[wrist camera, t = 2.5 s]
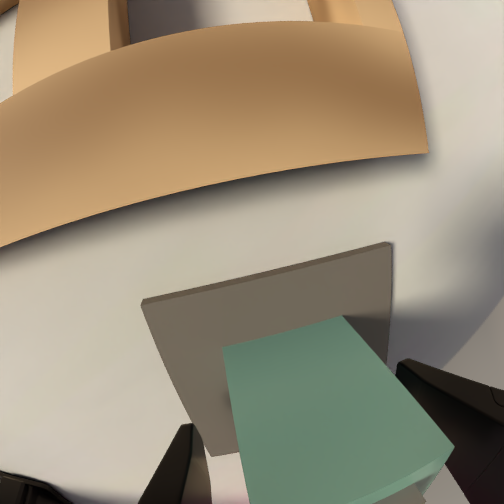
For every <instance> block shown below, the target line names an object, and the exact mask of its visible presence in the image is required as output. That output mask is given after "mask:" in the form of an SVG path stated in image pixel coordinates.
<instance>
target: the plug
mask: <svg viewBox="0 0 504 504" xmlns="http://www.w3.org/2000/svg"><path fill="white" fill-rule="evenodd" d="M222 349H223V356H224V363H225V370H226V376H227V382H228V389H229V395H230V401H231V407H232V413H233V419H234V424H235V430H236V436H237V441H238V446H239V452H240V457H241V462H242V467H243V472H244V477H245V482H246V487H247V492H248V497H249V501H250V504H425V502H426V500H425V499H424V498H423V494H424V493H425V491H426V490H427V489H428V487H429V486H430V485H431V483H432V482H433V480H434V479H435V477H436V476H437V474H438V473H439V471H440V470H441V468H442V467H443V465H444V464H445V462H446V461H447V459H448V457H449V456H450V454H451V452H452V451H453V449H454V447H455V446H454V445H453V444H452V443H451V442H450V440H449V439H448V438H447V437H446V435H445V434H444V433H443V432H442V431H441V429H440V428H439V427H438V426H437V425H436V423H435V422H434V421H433V420H432V419H431V417H430V416H429V415H428V414H427V413H426V412H425V410H424V409H423V408H422V407H421V406H420V404H419V403H418V402H417V401H416V400H415V399H414V397H413V396H412V395H411V394H410V393H409V392H408V390H407V389H406V388H405V387H404V386H403V385H402V383H401V382H400V381H399V380H398V379H397V378H396V376H395V375H394V374H393V373H392V372H391V371H390V370H389V368H388V367H387V366H386V365H385V364H384V363H383V361H382V360H381V359H380V358H379V357H378V356H377V355H376V353H375V352H374V351H373V350H372V349H371V348H370V347H369V346H368V344H367V343H366V342H365V341H364V340H363V339H362V338H361V336H360V335H359V334H358V333H357V332H356V331H355V330H354V329H353V327H352V326H351V325H350V324H349V323H348V322H347V321H346V320H345V319H344V317H343V316H342V315H341V316H338V317H334V318H331V319H328V320H325V321H321V322H318V323H314V324H311V325H308V326H304V327H301V328H297V329H293V330H290V331H286V332H282V333H279V334H275V335H271V336H267V337H263V338H259V339H255V340H251V341H247V342H243V343H238V344H234V345H230V346H225V347H222Z"/></svg>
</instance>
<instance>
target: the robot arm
mask: <svg viewBox="0 0 504 504" xmlns="http://www.w3.org/2000/svg"><path fill="white" fill-rule="evenodd" d="M395 376H396V378H397V379H398V380H399V381H400V382H401V383H402V385H403V386H404V387H405V388H406V389H407V390H408V392H409V393H410V394H411V395H412V396H413V397H414V399H415V400H416V401H417V402H418V403H419V404H420V406H421V407H422V408H423V409H424V410H425V412H426V413H427V414H428V415H429V416H430V417H431V419H432V420H433V421H434V422H435V423H436V425H437V426H438V427H439V428H440V429H441V431H442V432H443V433H444V434H445V435H446V437H447V438H448V439H449V440H450V442H451V443H452V444H453V445H454V446H455V447H454V449H453V451H452V452H451V454H450V456H449V457H448V459H447V461H446V462H445V465H446V466H447V468H448V469H449V471H450V473H451V474H452V476H453V477H454V479H455V480H456V482H457V484H458V485H459V486H460V488H461V490H462V491H463V493H464V495H465V497H466V498H467V500H468V501H469V503H470V504H504V390H501V389H497V388H494V387H489V386H488V385H485V384H481V383H478V382H475V381H472V380H469V379H466V378H463V377H460V376H457V375H454V374H452V373H449V372H445V371H443V370H440V369H437V368H434V367H431V366H429V365H426V364H423V363H420V362H418V361H415V360H412V359H405V360H402V361H400V362H399V363H398V364H397V369H396V375H395ZM0 504H71V503H70V502H68V501H67V500H66V499H65V498H63V497H62V496H61V495H60V494H58V493H57V492H56V491H55V490H53V489H52V488H51V487H50V486H48V485H46V484H44V483H40V482H36V481H31V480H27V479H23V478H19V477H15V476H12V475H8V474H5V473H2V472H0ZM138 504H212V498H211V484H210V477H209V471H208V466H207V461H206V455H205V450H204V444H203V440H202V437H201V435H200V433H199V432H198V430H197V428H196V426H195V425H194V424H193V423H189V424H183V425H181V426H180V428H179V429H178V431H177V433H176V435H175V437H174V439H173V441H172V442H171V444H170V446H169V448H168V450H167V451H166V453H165V455H164V457H163V459H162V461H161V462H160V464H159V466H158V468H157V470H156V471H155V473H154V475H153V477H152V479H151V480H150V482H149V484H148V486H147V487H146V489H145V491H144V493H143V495H142V496H141V498H140V500H139V502H138Z"/></svg>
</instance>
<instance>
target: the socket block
mask: <svg viewBox="0 0 504 504" xmlns="http://www.w3.org/2000/svg"><path fill="white" fill-rule="evenodd" d="M307 1H308V4H309V8H310V11H311V14H312V17H313V21H314V22H312V21H275V22H255V23H242V24H232V25H223V26H216V27H209V28H202V29H196V30H191V31H185V32H180V33H175V34H171V35H166V36H162V37H158V38H154V39H150V40H146V41H142V42H139V43H135V44H132V45H131V43H130V33H129V22H128V8H127V0H0V15H1V14H2V13H4V12H5V11H7V10H8V9H10V8H12V7H13V6H15V5H16V4H18V3H19V6H18V13H17V20H16V28H15V39H14V53H13V96H11V97H10V98H8V99H6V100H5V101H3V102H2V103H0V247H2V246H5V245H7V244H10V243H13V242H15V241H18V240H20V239H23V238H26V237H29V236H31V235H34V234H37V233H40V232H43V231H46V230H49V229H51V228H54V227H57V226H60V225H63V224H66V223H70V222H73V221H76V220H79V219H82V218H85V217H89V216H92V215H95V214H98V213H102V212H105V211H109V210H112V209H116V208H119V207H123V206H126V205H130V204H133V203H137V202H141V201H145V200H148V199H152V198H156V197H160V196H164V195H168V194H172V193H176V192H180V191H185V190H189V189H193V188H198V187H202V186H207V185H211V184H216V183H220V182H225V181H230V180H235V179H240V178H245V177H250V176H255V175H261V174H266V173H272V172H277V171H283V170H289V169H295V168H302V167H308V166H315V165H321V164H328V163H336V162H343V161H351V160H359V159H368V158H377V157H387V156H397V155H408V154H421V153H429V150H428V142H427V135H426V128H425V122H424V116H423V110H422V105H421V99H420V94H419V90H418V85H417V81H416V76H415V72H414V68H413V64H412V61H411V57H410V53H409V50H408V46H407V43H406V40H405V37H404V33H403V30H402V27H401V24H400V21H399V19H398V16H397V13H396V10H395V8H394V5H393V2H392V0H307Z"/></svg>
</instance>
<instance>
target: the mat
mask: <svg viewBox="0 0 504 504" xmlns="http://www.w3.org/2000/svg"><path fill="white" fill-rule="evenodd" d="M141 308H142V311H143V313H144V316H145V319H146V321H147V324H148V326H149V329H150V331H151V334H152V336H153V339H154V341H155V344H156V346H157V349H158V351H159V353H160V356H161V358H162V360H163V363H164V365H165V367H166V369H167V372H168V374H169V376H170V378H171V381H172V383H173V385H174V387H175V389H176V391H177V393H178V395H179V397H180V399H181V401H182V404H183V406H184V408H185V410H186V411H187V413H188V415H189V417H190V419H191V421H192V423H193V424H194V425H195V426H196V428H197V430H198V432H199V433H200V435H201V437H202V440H203V443H204V445H205V447H206V449H207V450H208V452H209V454H210V456H211V457H214V456H220V455H226V454H231V453H237V452H239V446H238V441H237V436H236V430H235V424H234V419H233V413H232V407H231V401H230V395H229V389H228V382H227V376H226V370H225V363H224V356H223V349H222V347H225V346H230V345H234V344H238V343H243V342H247V341H251V340H255V339H259V338H263V337H267V336H271V335H275V334H279V333H282V332H286V331H290V330H293V329H297V328H301V327H304V326H308V325H311V324H314V323H318V322H321V321H325V320H328V319H331V318H334V317H338V316H341V315H342V316H343V317H344V319H345V320H346V321H347V322H348V323H349V324H350V325H351V326H352V327H353V329H354V330H355V331H356V332H357V333H358V334H359V335H360V336H361V338H362V339H363V340H364V341H365V342H366V343H367V344H368V346H369V347H370V348H371V349H372V350H373V351H374V352H375V353H376V355H377V356H378V357H379V358H380V359H381V360H382V361H383V363H384V364H385V365H386V361H387V351H388V340H389V326H390V308H391V245H390V244H388V243H386V242H382V243H379V244H375V245H371V246H367V247H363V248H359V249H355V250H352V251H348V252H344V253H340V254H336V255H332V256H328V257H324V258H320V259H316V260H312V261H308V262H304V263H300V264H296V265H292V266H287V267H283V268H279V269H275V270H271V271H267V272H262V273H258V274H254V275H250V276H245V277H241V278H237V279H233V280H228V281H224V282H220V283H215V284H211V285H206V286H202V287H197V288H193V289H188V290H184V291H179V292H175V293H170V294H166V295H161V296H156V297H152V298H147V299H143V300H142V303H141Z"/></svg>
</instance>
